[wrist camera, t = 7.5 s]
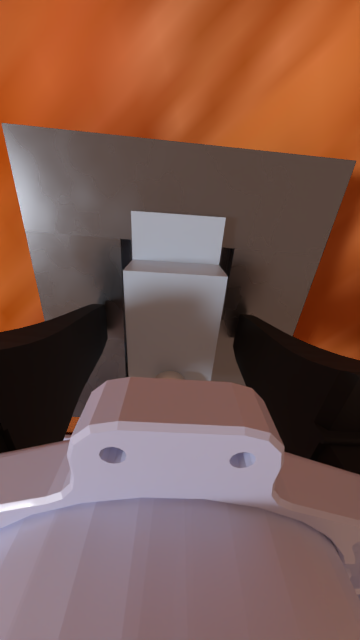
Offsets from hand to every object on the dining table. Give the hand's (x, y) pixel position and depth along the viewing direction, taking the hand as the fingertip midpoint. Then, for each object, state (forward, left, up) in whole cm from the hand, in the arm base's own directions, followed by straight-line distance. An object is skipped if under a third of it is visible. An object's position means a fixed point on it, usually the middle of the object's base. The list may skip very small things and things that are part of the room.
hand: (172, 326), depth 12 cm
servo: (0, 0, -3) cm, 3 cm away
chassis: (0, 0, -3) cm, 3 cm away
